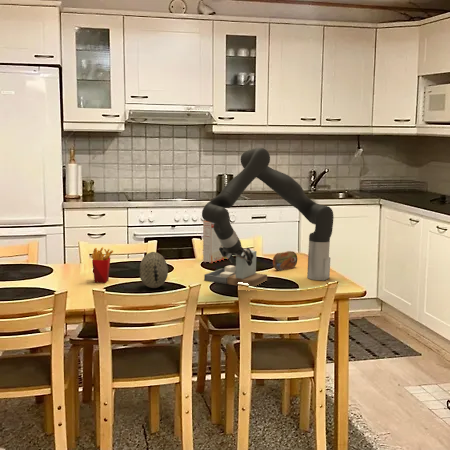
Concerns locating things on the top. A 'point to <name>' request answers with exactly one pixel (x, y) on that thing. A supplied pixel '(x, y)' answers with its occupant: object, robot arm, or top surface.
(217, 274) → the tray
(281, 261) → the tin
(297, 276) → the top surface
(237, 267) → the grey-blue rectangular block
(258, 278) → the board
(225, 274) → the tile
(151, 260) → the decorative egg
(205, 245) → the cracker box
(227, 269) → the tile
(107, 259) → the french fries
